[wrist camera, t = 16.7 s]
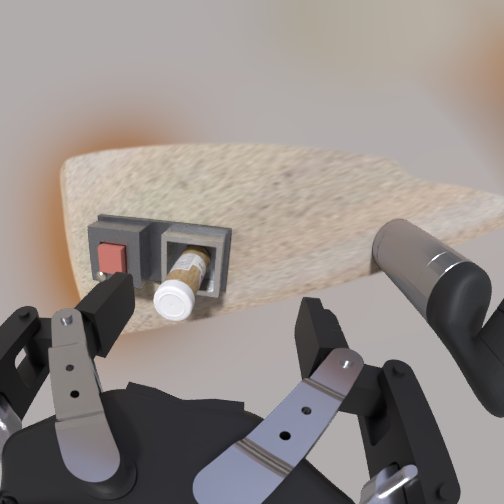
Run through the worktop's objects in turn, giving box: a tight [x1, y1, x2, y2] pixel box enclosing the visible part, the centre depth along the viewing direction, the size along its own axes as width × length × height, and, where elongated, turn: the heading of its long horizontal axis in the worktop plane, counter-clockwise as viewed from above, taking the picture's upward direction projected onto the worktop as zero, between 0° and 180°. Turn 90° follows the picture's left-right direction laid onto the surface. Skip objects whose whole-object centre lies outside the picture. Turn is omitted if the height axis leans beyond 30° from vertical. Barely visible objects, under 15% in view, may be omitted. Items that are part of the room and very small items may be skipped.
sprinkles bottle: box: [153, 245, 210, 321], centre depth 35 cm, size 5×5×14 cm
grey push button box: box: [88, 214, 232, 298], centre depth 39 cm, size 22×10×6 cm, turn 83°
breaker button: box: [98, 242, 127, 274], centre depth 38 cm, size 4×4×5 cm
